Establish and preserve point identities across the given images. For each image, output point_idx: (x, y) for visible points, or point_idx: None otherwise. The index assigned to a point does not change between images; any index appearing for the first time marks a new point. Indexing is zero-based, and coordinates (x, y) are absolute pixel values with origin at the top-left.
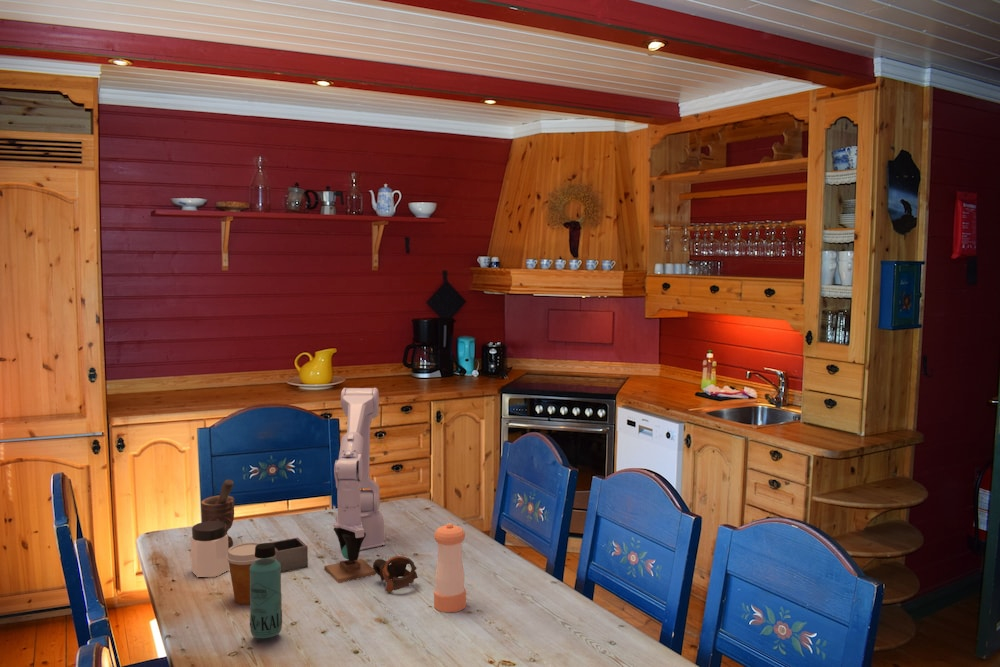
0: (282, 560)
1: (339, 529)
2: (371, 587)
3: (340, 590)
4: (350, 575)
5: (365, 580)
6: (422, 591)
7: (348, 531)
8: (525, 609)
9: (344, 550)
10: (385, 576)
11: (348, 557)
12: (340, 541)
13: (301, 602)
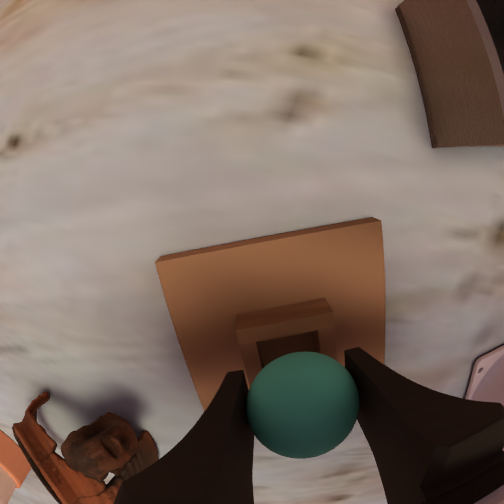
0: (432, 8)
1: (440, 474)
2: (88, 368)
3: (76, 250)
4: (184, 328)
5: (160, 370)
6: (61, 452)
7: (401, 494)
8: (18, 492)
9: (279, 389)
10: (26, 422)
11: (235, 379)
12: (385, 399)
13: (27, 82)
